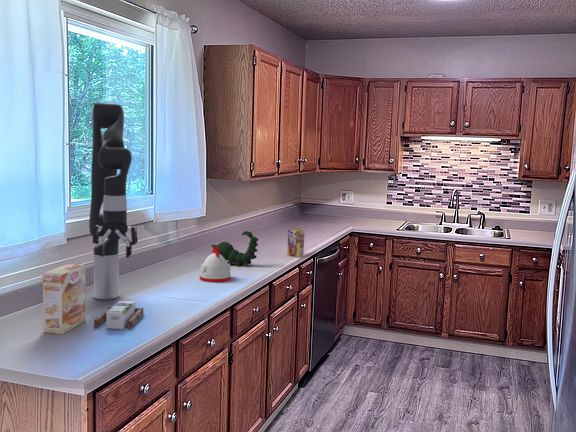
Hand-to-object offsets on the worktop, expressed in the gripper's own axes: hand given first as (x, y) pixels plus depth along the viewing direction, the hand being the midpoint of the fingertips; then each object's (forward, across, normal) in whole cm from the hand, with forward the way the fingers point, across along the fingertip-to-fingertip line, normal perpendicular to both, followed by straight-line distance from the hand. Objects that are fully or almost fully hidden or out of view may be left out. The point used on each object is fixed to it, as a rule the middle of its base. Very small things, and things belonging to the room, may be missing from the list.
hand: (115, 256), depth 200 cm
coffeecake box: (+23, +15, +6) cm, 28 cm away
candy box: (+24, -61, -128) cm, 144 cm away
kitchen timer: (+24, -25, -68) cm, 77 cm away
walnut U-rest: (+23, -1, -2) cm, 23 cm away
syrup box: (+20, -2, +7) cm, 21 cm away
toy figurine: (+24, -30, -100) cm, 108 cm away
